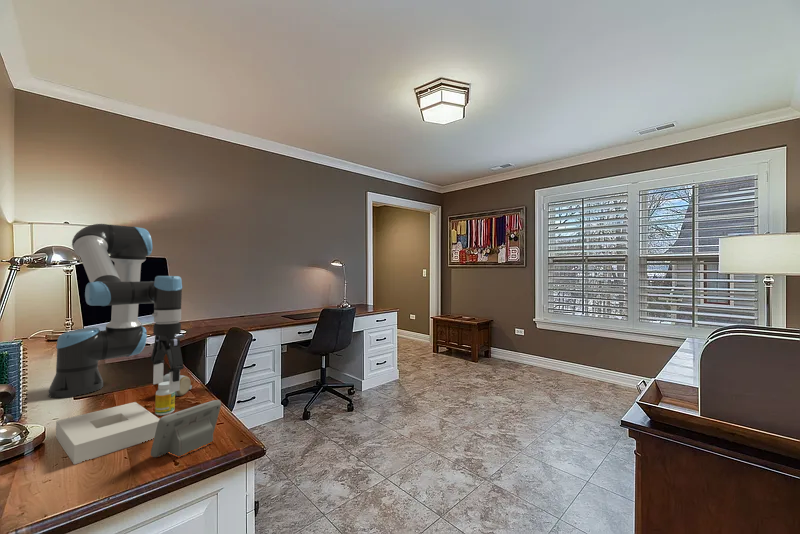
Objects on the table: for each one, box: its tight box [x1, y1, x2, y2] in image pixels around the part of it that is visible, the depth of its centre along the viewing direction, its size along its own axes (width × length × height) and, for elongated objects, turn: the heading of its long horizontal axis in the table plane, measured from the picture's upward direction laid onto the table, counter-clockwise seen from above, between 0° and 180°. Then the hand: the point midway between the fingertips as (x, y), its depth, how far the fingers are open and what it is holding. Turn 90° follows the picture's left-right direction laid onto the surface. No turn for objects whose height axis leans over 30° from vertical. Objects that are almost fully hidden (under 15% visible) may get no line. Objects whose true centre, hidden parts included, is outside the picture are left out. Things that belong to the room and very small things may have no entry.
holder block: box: [55, 401, 160, 465], centre depth 95 cm, size 22×18×4 cm
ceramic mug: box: [157, 373, 193, 397], centre depth 130 cm, size 11×8×8 cm
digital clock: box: [150, 399, 222, 458], centre depth 90 cm, size 16×9×11 cm, turn 139°
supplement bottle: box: [154, 381, 176, 416], centre depth 112 cm, size 5×5×10 cm
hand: (165, 387), depth 112 cm, fingers open, 13 cm apart
